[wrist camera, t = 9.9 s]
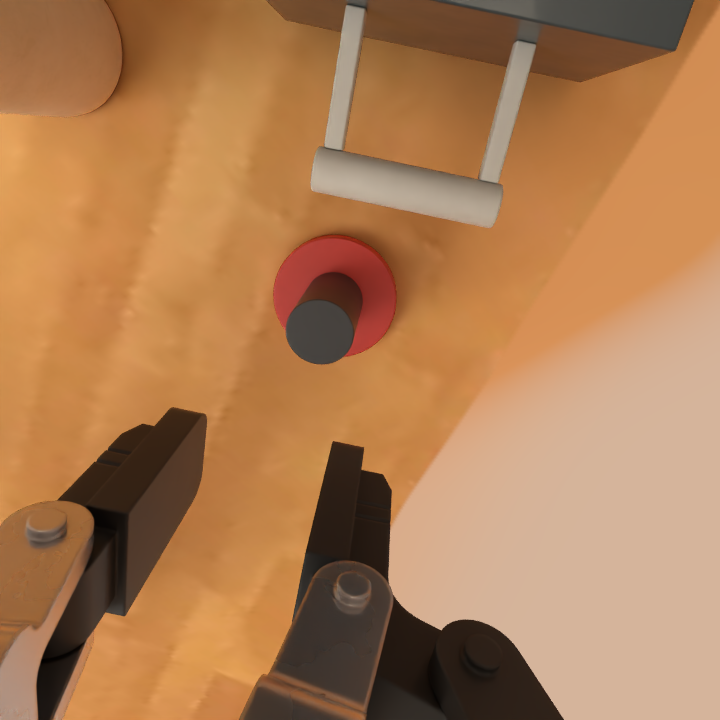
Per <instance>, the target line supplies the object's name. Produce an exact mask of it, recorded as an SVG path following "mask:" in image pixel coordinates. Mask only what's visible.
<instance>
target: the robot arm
mask: <svg viewBox="0 0 720 720" xmlns="http://www.w3.org/2000/svg"><path fill="white" fill-rule="evenodd" d="M206 427H207V417H206V415H205V414H203V413H198V412H193V411H188V410H184V409H179V408H174V407H172V408H170V409H169V410H168V411H167V413H166V414H165V415H164V416H163V417H162V418H161V419H160V421H159V422H158V423H157V424H156V425H155V426H151V425H146V424H141V425H139V426H137V427H135V428H133V429H131V430H129V431H126V432H124V433H122V434H121V435H120V436H119V437H118V438H117V439H116V440H115V441H114V442H113V443H112V444H111V445H110V446H109V447H108V451H107V450H106V451H105V452H104V453H103V454H102V455H101V456H100V457H99V458H98V459H97V462H94V463H93V464H92V465H91V466H90V467H89V468H88V469H87V470H86V471H85V472H84V473H83V474H82V475H81V476H80V477H79V478H78V479H77V481H76V482H75V483H74V484H73V485H72V486H71V487H70V488H69V489H68V490H67V491H66V492H65V493H64V494H63V495H62V496H61V497H60V498H59V499H58V500H57V501H46V502H40V503H36V504H33V505H30V506H27V507H25V508H22V509H20V510H18V511H17V512H15V513H13V514H12V515H10V516H9V517H8V518H7V519H6V520H5V521H4V522H3V523H2V524H1V525H0V720H62V719H63V717H64V714H65V712H66V709H67V707H68V704H69V702H70V700H71V697H72V695H73V692H74V690H75V687H76V685H77V683H78V680H79V678H80V675H81V673H82V670H83V668H84V666H85V663H86V661H87V658H88V656H89V653H90V651H91V649H92V645H93V641H94V629H95V628H96V626H97V624H98V623H99V621H100V620H101V618H102V617H103V615H104V613H105V612H106V613H111V614H116V615H121V616H125V615H126V614H127V612H128V610H129V609H130V607H131V605H132V604H133V602H134V600H135V598H136V597H137V595H138V593H139V592H140V590H141V588H142V587H143V585H144V583H145V582H146V580H147V578H148V576H149V575H150V573H151V571H152V570H153V568H154V566H155V565H156V563H157V561H158V560H159V558H160V556H161V554H162V553H163V551H164V549H165V548H166V546H167V544H168V543H169V541H170V539H171V537H172V536H173V534H174V532H175V531H176V529H177V527H178V526H179V524H180V522H181V521H182V519H183V517H184V515H185V514H186V512H187V510H188V509H189V507H190V505H191V504H192V502H193V500H194V498H195V496H196V494H197V491H198V488H199V485H200V481H201V477H202V469H203V459H204V448H205V438H206ZM363 453H364V447H359V446H354V445H349V444H345V443H340V442H335V441H333V442H332V446H331V450H330V455H329V459H328V463H327V467H326V471H325V475H324V479H323V483H322V487H321V491H320V496H319V500H318V504H317V508H316V512H315V516H314V520H313V524H312V528H311V533H310V537H309V541H308V545H307V549H306V553H305V559H304V564H303V569H302V574H301V579H300V584H299V589H298V594H297V599H296V604H295V609H294V614H293V619H292V624H291V627H290V629H289V631H288V633H287V635H286V638H285V640H284V642H283V644H282V646H281V649H280V651H279V653H278V655H277V657H276V660H275V662H274V664H273V666H272V668H271V670H270V672H269V674H268V675H266V674H263V675H261V677H260V678H259V680H258V681H257V683H256V685H255V687H254V689H253V691H252V693H251V695H250V697H249V699H248V701H247V703H246V705H245V707H244V710H243V712H242V714H241V716H240V718H239V720H564V719H563V718H562V716H561V715H560V713H559V712H558V710H557V708H556V707H555V706H554V704H553V702H552V701H551V699H550V698H549V696H548V695H547V693H546V692H545V690H544V689H543V687H542V686H541V684H540V683H539V681H538V680H537V678H536V677H535V675H534V673H533V672H532V670H531V669H530V667H529V666H528V664H527V663H526V661H525V660H524V658H523V657H522V655H521V654H520V652H519V651H518V649H517V648H516V647H515V645H514V644H513V643H512V642H511V641H510V640H509V639H508V638H507V637H506V636H505V635H504V634H503V633H501V632H500V631H498V630H497V629H495V628H493V627H492V626H490V625H488V624H485V623H482V622H479V621H474V620H458V621H454V622H452V623H450V624H448V625H447V626H445V627H444V628H443V629H442V630H439V629H437V628H435V627H433V626H431V625H429V624H427V623H425V622H423V621H421V620H420V619H418V618H416V617H415V616H413V615H412V614H410V613H409V612H408V611H406V610H405V609H404V608H403V607H402V606H401V605H400V604H399V602H398V601H397V600H396V598H395V597H394V595H393V593H392V590H391V587H390V586H389V582H388V567H389V542H390V519H391V495H392V490H391V488H390V487H389V485H388V483H387V481H386V479H385V477H384V475H383V474H378V473H374V472H369V471H364V470H361V467H362V460H363Z"/></svg>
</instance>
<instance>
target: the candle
mask: <svg viewBox="0 0 720 720" xmlns="http://www.w3.org/2000/svg"><path fill="white" fill-rule="evenodd" d="M121 67H122V44H121V38H120V34H119V30H118V27H117V24H116V21H115V19H114V16H113V14H112V12H111V10H110V9H109V7H108V5H107V4H106V2H105V1H104V0H0V113H4V114H19V115H34V116H49V117H75V116H79V115H83V114H87V113H89V112H92V111H94V110H95V109H97V108H99V107H100V106H101V105H102V104H103V103H105V102H106V100H107V99H108V98H109V97H110V96H111V94H112V92H113V91H114V89H115V87H116V85H117V83H118V80H119V76H120V73H121Z"/></svg>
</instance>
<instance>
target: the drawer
mask: <svg viewBox="0 0 720 720" xmlns="http://www.w3.org/2000/svg"><path fill="white" fill-rule="evenodd" d="M266 1H267V2H268V3H269V4H270V5H271V6H272V7H273V8H274V9H275V10H276V11H277V12H278V13H279V14H280V15H281V16H282V17H283V18H284V19H285V20H287V21H292V22H296V23H301V24H306V25H311V26H315V27H320V28H325V29H330V30H334V31H339V32H342V34H341V40H340V46H339V53H338V59H337V66H336V72H335V78H334V85H333V91H332V98H331V104H330V110H329V117H328V123H327V130H326V136H325V142H324V146H325V147H322V146H320V147H318V149H317V151H316V153H315V157H314V161H313V167H312V173H311V190H312V191H314V192H319V193H324V194H328V195H333V196H338V197H343V198H347V199H352V200H357V201H362V202H366V203H371V204H376V205H381V206H385V207H390V208H395V209H400V210H404V211H409V212H414V213H419V214H423V215H428V216H433V217H438V218H442V219H447V220H452V221H457V222H461V223H466V224H471V225H476V226H480V227H485V228H492V226H493V225H494V223H495V221H496V219H497V216H498V214H499V210H500V207H501V203H502V198H503V185H501V184H497V183H498V182H499V179H500V175H501V172H502V168H503V164H504V161H505V157H506V154H507V150H508V147H509V143H510V139H511V136H512V132H513V129H514V125H515V122H516V118H517V114H518V111H519V107H520V104H521V100H522V97H523V93H524V89H525V86H526V82H527V79H528V75H529V72H534V73H538V74H543V75H548V76H553V77H557V78H562V79H567V80H572V81H576V82H583V81H586V80H589V79H592V78H595V77H598V76H601V75H604V74H607V73H610V72H613V71H616V70H619V69H622V68H625V67H628V66H631V65H634V64H637V63H640V62H643V61H646V60H649V59H652V58H656V57H659V56H662V55H665V54H668V53H671V52H674V51H675V50H676V48H677V46H678V43H679V40H680V38H681V35H682V32H683V29H684V27H685V24H686V21H687V19H688V16H689V13H690V10H691V8H692V5H693V2H694V0H266ZM363 37H368V38H372V39H377V40H382V41H387V42H391V43H396V44H401V45H405V46H410V47H415V48H420V49H424V50H429V51H434V52H439V53H443V54H448V55H453V56H458V57H462V58H467V59H472V60H477V61H481V62H486V63H491V64H496V65H500V66H505V67H507V70H506V73H505V77H504V81H503V85H502V89H501V92H500V96H499V100H498V104H497V107H496V111H495V115H494V119H493V122H492V126H491V130H490V134H489V138H488V141H487V145H486V149H485V153H484V156H483V160H482V164H481V168H480V172H479V175H478V179H480V180H478V179H474V178H469V177H464V176H459V175H455V174H450V173H445V172H440V171H436V170H431V169H426V168H421V167H417V166H412V165H407V164H402V163H398V162H393V161H388V160H383V159H379V158H374V157H369V156H364V155H360V154H355V153H350V152H345V151H341V150H344V148H345V142H346V136H347V130H348V124H349V118H350V112H351V106H352V101H353V95H354V89H355V83H356V77H357V71H358V65H359V59H360V54H361V48H362V42H363Z"/></svg>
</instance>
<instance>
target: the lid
mask: <svg viewBox="0 0 720 720" xmlns="http://www.w3.org/2000/svg"><path fill="white" fill-rule="evenodd" d="M273 296H274V306H275V310H276V313H277V316H278V319H279V321H280V323H281V325H282V326H283V328H284V329H285V331H286V337H287V340H288V343H289V345H290V347H291V348H292V350H293V351H294V352H295V353H296V354H297V355H298V356H299V357H300V358H302V359H304V360H305V361H308V362H310V363H314V364H329V363H333V362H336V361H338V360H340V359H341V358H342V357H346V356H351V355H355V354H358V353H361V352H363V351H365V350H367V349H369V348H370V347H372V346H373V345H374V344H376V343H377V342H378V341H379V340H380V339H381V338H382V337H383V335H384V334H385V333H386V331H387V330H388V328H389V327H390V324H391V322H392V320H393V317H394V314H395V308H396V285H395V281H394V277H393V275H392V272H391V270H390V268H389V266H388V265H387V263H386V262H385V260H384V259H383V258H382V256H381V255H380V254H379V253H378V252H377V251H376V250H374V249H373V248H372V247H371V246H369V245H367V244H366V243H364V242H362V241H360V240H358V239H355V238H352V237H348V236H342V235H326V236H321V237H317V238H314V239H311V240H309V241H307V242H305V243H303V244H302V245H300V246H299V247H298V248H296V249H295V250H294V251H293V252H292V253H291V254H290V255H289V256H288V257H287V258H286V260H285V261H284V263H283V264H282V265H281V267H280V269H279V271H278V274H277V277H276V279H275V284H274V293H273Z"/></svg>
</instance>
